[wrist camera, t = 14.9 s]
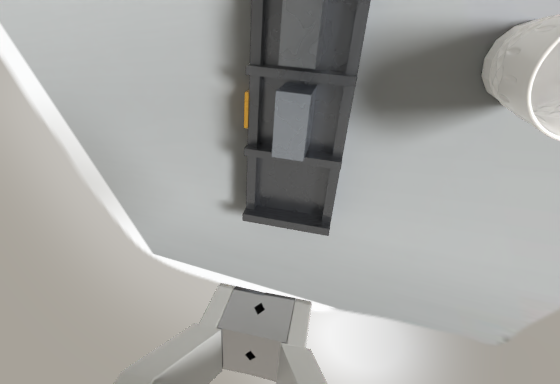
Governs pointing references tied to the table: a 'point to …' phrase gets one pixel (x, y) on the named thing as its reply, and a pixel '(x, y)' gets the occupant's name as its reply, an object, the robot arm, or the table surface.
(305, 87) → the grey upright block
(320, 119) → the rack
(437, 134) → the table surface
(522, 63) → the white cup
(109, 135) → the table surface
